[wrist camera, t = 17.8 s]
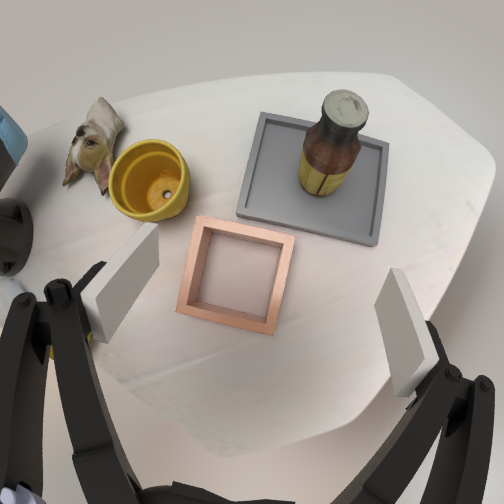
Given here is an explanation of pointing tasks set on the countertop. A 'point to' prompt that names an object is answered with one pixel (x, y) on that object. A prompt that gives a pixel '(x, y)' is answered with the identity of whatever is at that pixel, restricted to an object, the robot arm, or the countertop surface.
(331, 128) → the sauce bottle
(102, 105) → the ceramic sculpture
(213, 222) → the terracotta holder
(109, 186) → the plant pot
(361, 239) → the grey tray
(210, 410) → the countertop surface
